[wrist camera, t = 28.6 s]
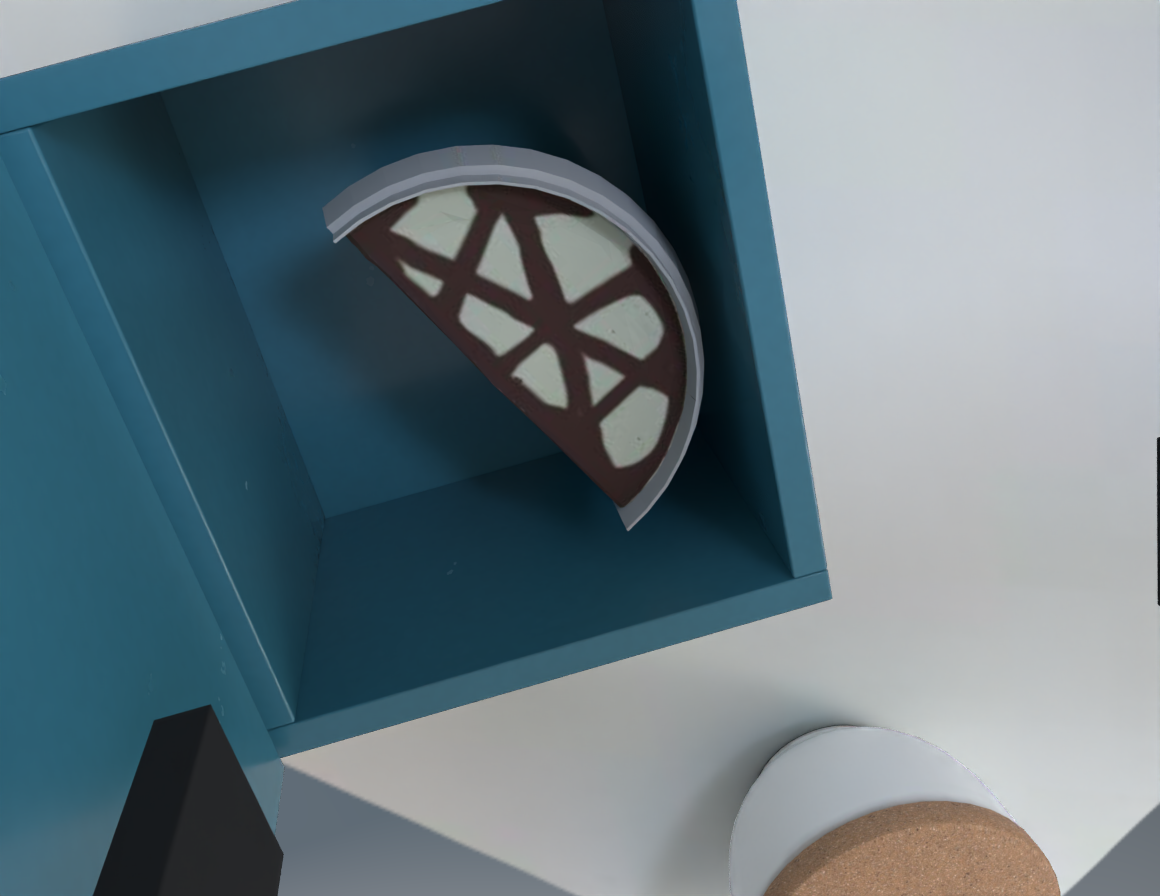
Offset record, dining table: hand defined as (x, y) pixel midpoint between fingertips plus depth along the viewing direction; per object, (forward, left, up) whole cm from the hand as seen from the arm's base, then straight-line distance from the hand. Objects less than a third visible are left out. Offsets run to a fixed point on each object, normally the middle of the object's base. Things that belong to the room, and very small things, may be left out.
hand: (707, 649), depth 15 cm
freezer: (+2, +1, -25) cm, 26 cm away
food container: (0, 0, -25) cm, 25 cm away
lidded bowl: (-21, +21, -26) cm, 39 cm away
